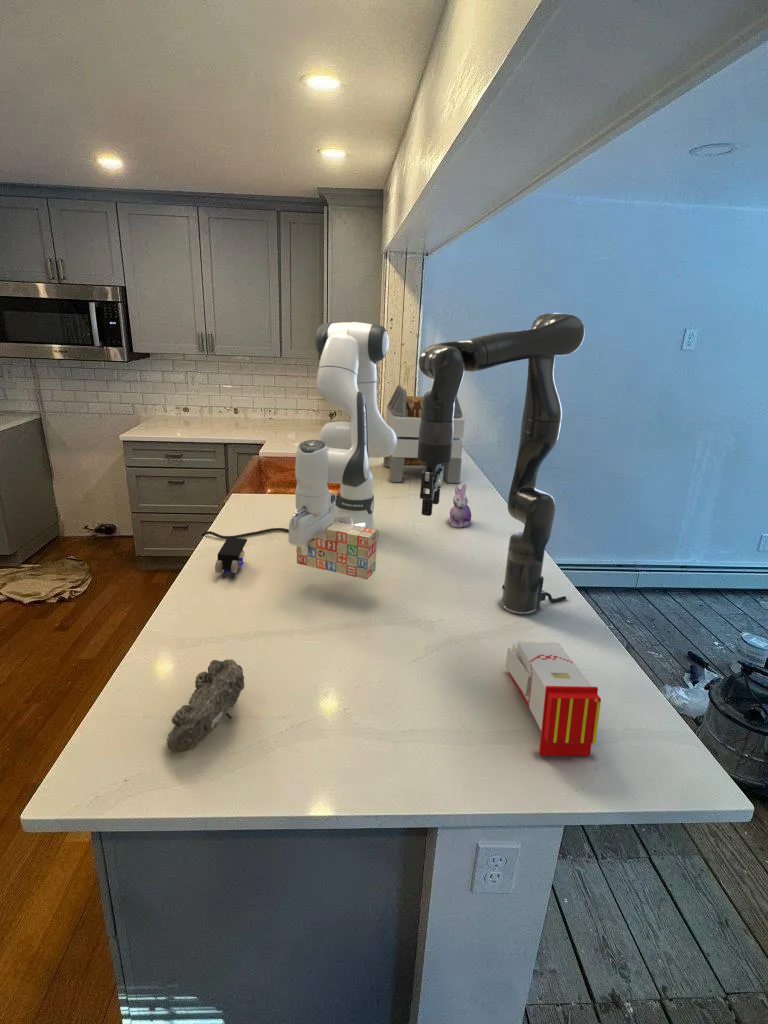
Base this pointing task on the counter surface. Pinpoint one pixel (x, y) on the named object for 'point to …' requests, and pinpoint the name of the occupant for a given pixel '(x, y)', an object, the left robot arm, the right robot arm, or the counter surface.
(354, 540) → the stack of blocks
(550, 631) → the counter surface
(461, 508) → the figurine
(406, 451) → the grey storage crate
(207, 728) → the fossil
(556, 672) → the toy
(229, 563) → the black wheeled block
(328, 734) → the counter surface
